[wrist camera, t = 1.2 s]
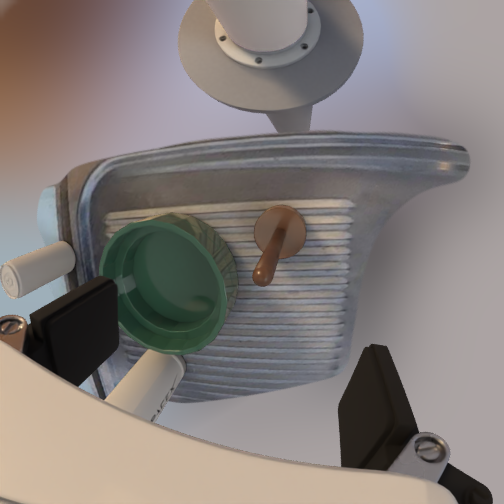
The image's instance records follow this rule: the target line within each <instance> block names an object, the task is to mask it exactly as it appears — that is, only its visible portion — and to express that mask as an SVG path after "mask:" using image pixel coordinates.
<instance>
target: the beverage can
mask: <svg viewBox="0 0 504 504" xmlns="http://www.w3.org/2000/svg"><path fill="white" fill-rule="evenodd" d="M74 266H75V253H74V251H73V249H72V247H71V246H70V245H69V244H68V243H66V242H64V241H59V242H57V243H54V244H51V245H49V246H46V247H43V248H40V249H38V250H35V251H33V252H30V253H28V254H25V255H22V256H20V257H17V258H15V259H12V260H10V261H8V262H6V263H5V264H3V265H2V266H1V268H0V280H1V283H2V286H3V288H4V290H5V292H6V294H7V295H8V296H9V297H10V298H11V299H16V298H20V297H22V296H24V295H26V294H28V293H30V292H32V291H34V290H36V289H37V288H39V287H41V286H43V285H45V284H47V283H49V282H51V281H53V280H55V279H57V278H59V277H61V276H63V275H65V274H67V273H69V272H71V271H72V270H73V268H74Z"/></svg>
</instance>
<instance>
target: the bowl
mask: <svg viewBox="0 0 504 504" xmlns="http://www.w3.org/2000/svg"><path fill="white" fill-rule="evenodd" d="M99 276H104V277H107V278H110V279H113V280H114V282H115V284H116V285H117V287H118V326H119V327H120V328H121V329H122V330H123V331H124V332H125V333H126V334H127V335H128V336H129V337H130V338H132V339H133V340H135V341H136V342H137V343H139V344H141V345H142V346H144V347H145V348H147V349H150V350H153V351H156V352H159V353H162V354H168V355H185V354H189V353H192V352H196V351H199V350H201V349H202V348H204V347H205V346H206V345H208V344H209V343H210V342H212V341H213V340H214V339H215V338H216V336H217V334H218V333H219V331H220V329H221V328H222V326H223V324H224V322H225V321H226V319H227V317H228V315H229V313H230V311H231V309H232V308H233V306H234V304H235V302H236V296H237V290H238V285H239V282H238V275H237V269H236V263H235V260H234V258H233V256H232V254H231V252H230V250H229V248H228V246H227V244H226V243H225V241H224V240H223V239H222V238H221V237H220V236H219V235H218V234H217V233H216V232H215V231H214V230H213V229H212V228H211V227H210V226H208V225H207V224H205V223H203V222H201V221H200V220H198V219H196V218H194V217H193V216H189V215H183V214H178V213H172V212H171V213H165V214H159V215H154V216H150V217H147V218H144V219H141V220H138V221H135V222H132V223H130V224H128V225H127V226H125V227H123V228H122V229H120V230H119V231H117V232H116V233H115V234H114V235H113V236H112V238H111V239H110V241H109V242H108V243H107V245H106V246H105V248H104V251H103V254H102V258H101V261H100V265H99Z"/></svg>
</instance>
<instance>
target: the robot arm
mask: <svg viewBox="0 0 504 504" xmlns="http://www.w3.org/2000/svg"><path fill="white" fill-rule="evenodd" d="M206 2H207V3H208V5H209V6H210V8H211V9H212V11H213V12H214V14H215V16H216V17H217V19H216V22H215V37H216V40H217V42H218V44H219V46H220V47H221V49H222V50H223V51H224V53H225V54H226V55H227V56H228V57H230V58H231V59H232V60H233V61H235V62H237V63H239V64H241V65H244V66H247V67H250V68H256V69H276V68H282V67H285V66H289V65H292V64H294V63H296V62H298V61H300V60H301V59H303V58H304V57H305V56H307V55H308V54H309V53H310V52H311V51H312V50H313V49H314V47H315V45H316V44H317V42H318V40H319V36H320V31H321V23H320V17H319V15H318V12H317V10H316V9H315V7H314V6H313V4H312V3H311V2H309V1H308V0H206ZM224 40H225V41H224ZM302 48H306V49H302ZM258 62H262V63H260V64H258ZM30 320H31V323H30V324H29V325H28V324H27V321H26V320H25V319H24V318H23V317H21V316H18V315H6V316H2V317H1V318H0V504H492V503H493V498H492V494H491V492H490V491H489V489H488V488H487V487H486V486H485V485H483V484H482V483H480V482H478V481H477V480H475V479H473V478H472V477H470V476H468V475H467V474H465V473H463V472H462V471H460V470H459V469H457V468H455V467H454V466H452V465H451V464H449V463H448V461H449V457H450V449H449V446H448V444H447V443H446V442H445V440H444V439H442V438H441V437H440V436H438V435H436V434H434V433H430V432H420V433H419V431H418V428H417V424H416V421H415V418H414V415H413V412H412V409H411V407H410V404H409V401H408V398H407V396H406V393H405V390H404V388H403V385H402V383H401V380H400V377H399V375H398V372H397V370H396V367H395V365H394V362H393V360H392V357H391V355H390V353H389V350H388V348H387V346H383V345H377V344H371V345H370V346H369V347H365V348H364V350H363V352H362V354H361V357H360V359H359V361H358V364H357V366H356V368H355V370H354V373H353V375H352V377H351V379H350V381H349V383H348V386H347V388H346V390H345V392H344V394H343V396H342V398H341V400H340V403H339V406H338V418H339V432H340V448H341V467H336V466H326V465H318V464H311V463H304V462H298V461H292V460H286V459H279V458H274V457H269V456H264V455H260V454H255V453H250V452H246V451H242V450H238V449H234V448H230V447H227V446H223V445H219V444H216V443H212V442H209V441H205V440H202V439H199V438H196V437H193V436H190V435H187V434H184V433H181V432H178V431H175V430H172V429H169V428H167V427H164V426H161V425H159V424H156V423H154V422H151V421H149V420H146V419H144V418H141V417H139V416H137V415H134V414H132V413H130V412H127V411H125V410H123V409H121V408H119V407H116V406H114V405H112V404H110V403H108V402H106V401H104V400H102V399H100V398H98V397H96V396H94V395H92V394H90V393H88V392H86V391H84V390H82V389H81V388H79V386H80V385H81V384H82V383H83V382H84V381H85V380H86V379H87V378H88V377H89V376H90V375H91V374H92V373H93V372H94V371H95V370H96V369H97V368H98V367H99V366H100V365H101V364H102V363H103V362H104V361H105V360H106V359H107V358H108V357H109V356H111V355H112V354H113V353H114V352H115V351H116V350H117V348H118V346H119V328H118V287H117V285H116V284H115V282H114V280H113V279H110V278H107V277H104V276H98V277H96V278H94V279H92V280H90V281H89V282H87V283H85V284H83V285H81V286H79V287H78V288H76V289H74V290H72V291H70V292H68V293H67V294H65V295H63V296H61V297H59V298H58V299H56V300H54V301H52V302H51V303H49V304H47V305H45V306H44V307H42V308H40V309H38V310H37V311H35V312H33V313H32V314H30Z"/></svg>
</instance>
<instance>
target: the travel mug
mask: <svg viewBox="0 0 504 504" xmlns="http://www.w3.org/2000/svg"><path fill="white" fill-rule="evenodd" d="M185 372H186V364H185V361H184V359H183V357H182V356H181V355H168V354H162V353H159V352H156V351H153V350H150V349H148V350H147V351H146V352H145V353H144V354H143V356H142V357H141V358H140V359H139V360H138V361H137V363H136V364H135V365H134V366H133V367H132V368H131V370H130V371H129V372H128V373H127V374H126V376H125V377H124V378H123V379H122V380H121V381H120V383H119V384H118V385H117V386H116V387H115V388H114V390H113V391H112V392H111V393H110V394H109V396H108V397H107V398H106V399H105V400H104V401H106V402H108V403H110V404H112V405H114V406H116V407H119V408H121V409H123V410H125V411H127V412H130V413H132V414H134V415H137V416H139V417H141V418H144V419H146V420H149V421H151V422H154V423H155V422H156V420H157V419H158V417H159V415H160V414H161V412H162V410H163V409H164V407H165V405H166V404H167V402H168V400H169V399H170V397H171V395H172V394H173V392H174V391H175V389H176V387H177V386H178V384H179V382H180V381H181V379H182V377H183V376H184V374H185Z"/></svg>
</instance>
